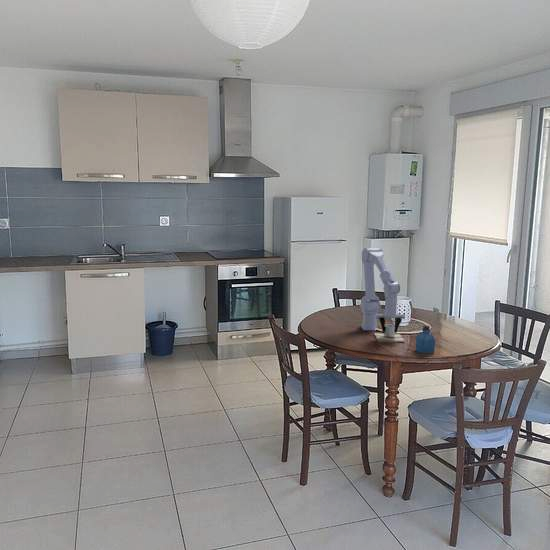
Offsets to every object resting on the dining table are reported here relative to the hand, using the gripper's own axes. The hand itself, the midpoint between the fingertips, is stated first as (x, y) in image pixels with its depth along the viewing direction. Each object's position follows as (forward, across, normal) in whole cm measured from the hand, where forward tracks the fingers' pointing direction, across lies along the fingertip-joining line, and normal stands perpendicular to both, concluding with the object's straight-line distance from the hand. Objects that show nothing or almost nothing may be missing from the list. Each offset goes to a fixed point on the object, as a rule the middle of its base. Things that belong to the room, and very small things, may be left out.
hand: (389, 332), depth 270 cm
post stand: (+3, 0, 0) cm, 3 cm away
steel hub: (+2, 0, 0) cm, 2 cm away
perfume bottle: (+4, +13, -20) cm, 24 cm away
